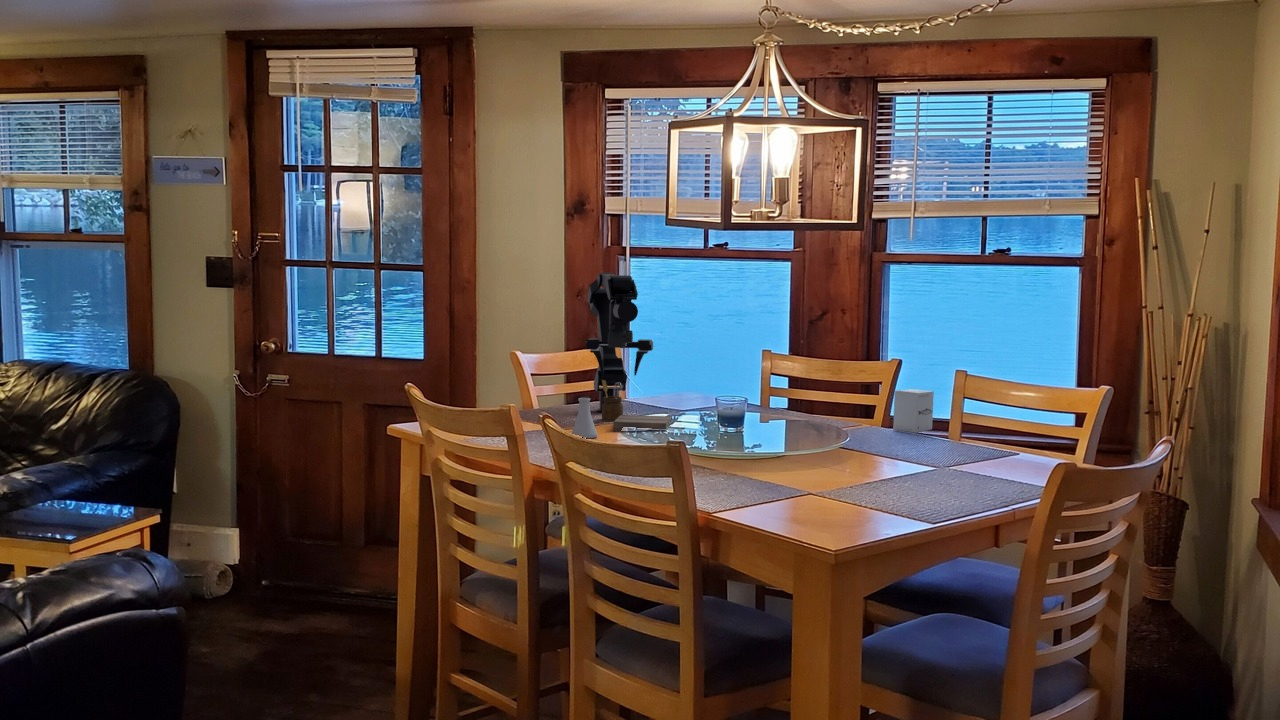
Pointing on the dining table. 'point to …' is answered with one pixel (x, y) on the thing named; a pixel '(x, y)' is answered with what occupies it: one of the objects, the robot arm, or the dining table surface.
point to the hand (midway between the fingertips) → (619, 375)
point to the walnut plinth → (641, 422)
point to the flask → (584, 420)
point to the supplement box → (913, 410)
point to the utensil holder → (611, 405)
